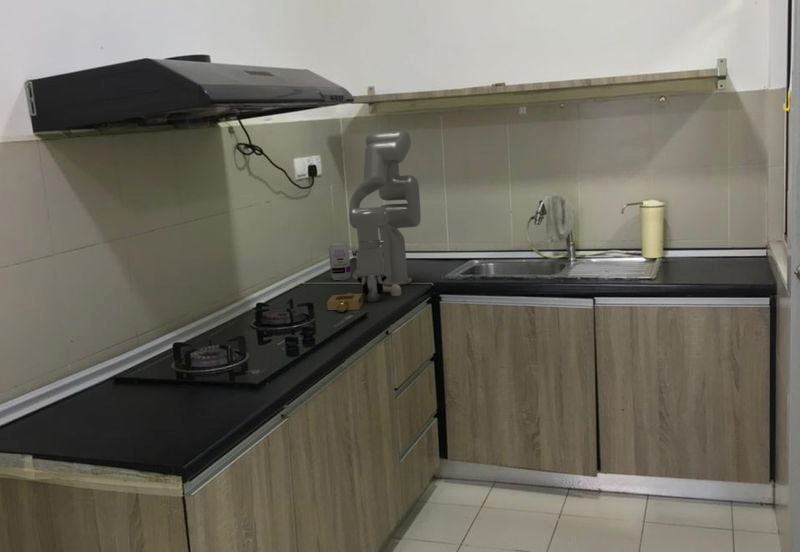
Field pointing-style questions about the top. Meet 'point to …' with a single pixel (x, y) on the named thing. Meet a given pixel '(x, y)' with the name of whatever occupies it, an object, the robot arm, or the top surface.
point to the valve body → (345, 302)
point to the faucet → (393, 289)
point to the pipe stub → (372, 288)
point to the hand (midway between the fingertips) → (373, 293)
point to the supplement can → (339, 261)
